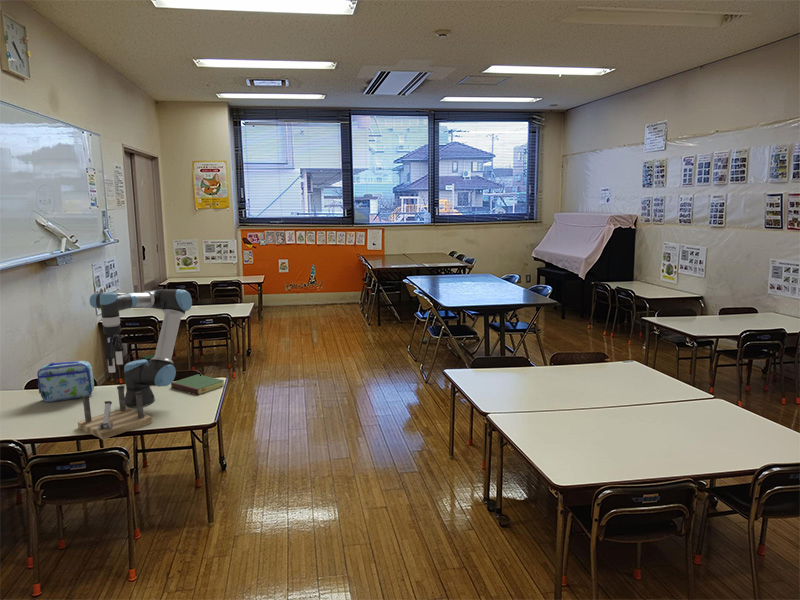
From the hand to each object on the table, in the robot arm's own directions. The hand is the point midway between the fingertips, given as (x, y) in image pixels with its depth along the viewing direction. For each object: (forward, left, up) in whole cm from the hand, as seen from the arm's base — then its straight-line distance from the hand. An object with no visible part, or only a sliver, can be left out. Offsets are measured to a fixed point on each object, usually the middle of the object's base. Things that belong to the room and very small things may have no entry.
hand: (116, 368), depth 266 cm
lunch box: (-64, +3, -29) cm, 70 cm away
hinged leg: (+4, -8, -20) cm, 22 cm away
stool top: (-2, -2, -29) cm, 29 cm away
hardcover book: (-19, +56, -29) cm, 66 cm away
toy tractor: (-55, +46, -29) cm, 77 cm away
